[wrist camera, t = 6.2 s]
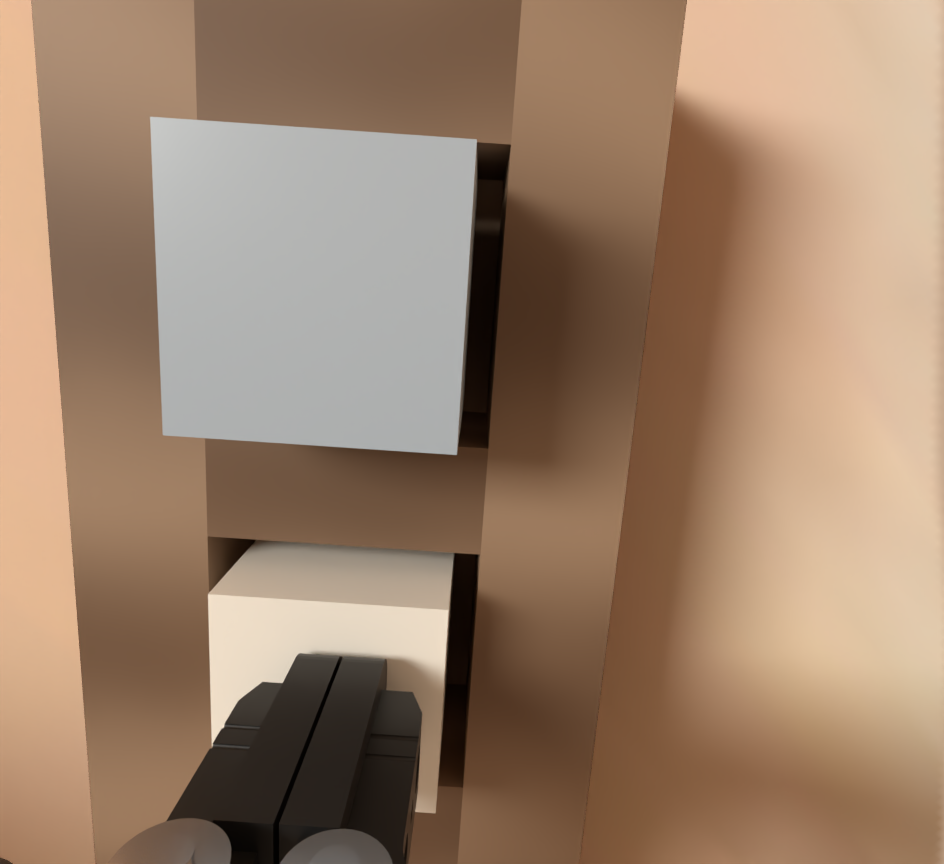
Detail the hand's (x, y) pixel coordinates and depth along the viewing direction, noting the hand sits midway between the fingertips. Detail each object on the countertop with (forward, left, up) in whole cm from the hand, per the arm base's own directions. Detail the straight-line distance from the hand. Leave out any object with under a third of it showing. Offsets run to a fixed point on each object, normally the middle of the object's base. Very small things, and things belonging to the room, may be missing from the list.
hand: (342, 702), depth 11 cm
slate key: (+2, +7, -3) cm, 7 cm away
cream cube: (0, 0, -4) cm, 4 cm away
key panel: (0, 0, -5) cm, 5 cm away
